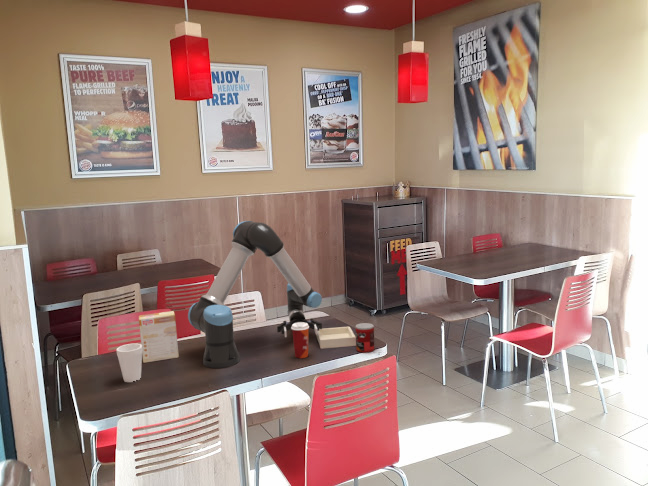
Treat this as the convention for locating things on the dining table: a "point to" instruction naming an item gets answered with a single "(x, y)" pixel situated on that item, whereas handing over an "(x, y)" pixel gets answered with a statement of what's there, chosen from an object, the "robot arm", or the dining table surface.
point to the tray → (336, 337)
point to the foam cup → (130, 361)
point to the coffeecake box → (158, 336)
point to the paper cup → (300, 339)
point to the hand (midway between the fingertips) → (301, 333)
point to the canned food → (364, 337)
